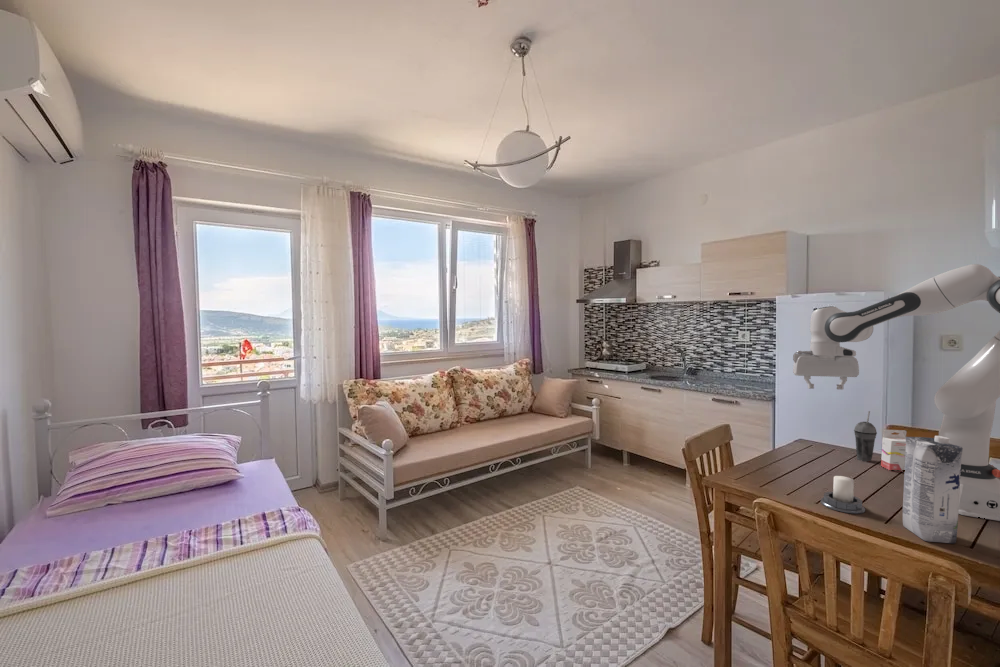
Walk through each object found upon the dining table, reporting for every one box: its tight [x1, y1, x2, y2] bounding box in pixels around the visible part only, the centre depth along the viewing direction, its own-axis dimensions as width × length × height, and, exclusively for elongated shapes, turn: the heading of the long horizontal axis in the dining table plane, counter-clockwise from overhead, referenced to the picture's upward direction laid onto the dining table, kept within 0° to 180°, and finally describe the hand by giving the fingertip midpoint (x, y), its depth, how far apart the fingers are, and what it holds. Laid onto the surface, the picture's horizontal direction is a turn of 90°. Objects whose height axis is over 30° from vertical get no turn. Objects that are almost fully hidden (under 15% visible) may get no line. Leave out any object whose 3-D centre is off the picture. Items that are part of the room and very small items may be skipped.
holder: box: [820, 491, 866, 515], centre depth 141 cm, size 11×11×3 cm
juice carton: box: [902, 435, 963, 544], centre depth 122 cm, size 9×10×27 cm
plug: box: [832, 475, 855, 503], centre depth 141 cm, size 5×5×8 cm
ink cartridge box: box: [880, 429, 907, 471], centre depth 173 cm, size 9×5×15 cm, turn 84°
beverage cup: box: [853, 410, 878, 462], centre depth 184 cm, size 7×7×20 cm
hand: (825, 389), depth 167 cm, fingers open, 8 cm apart
